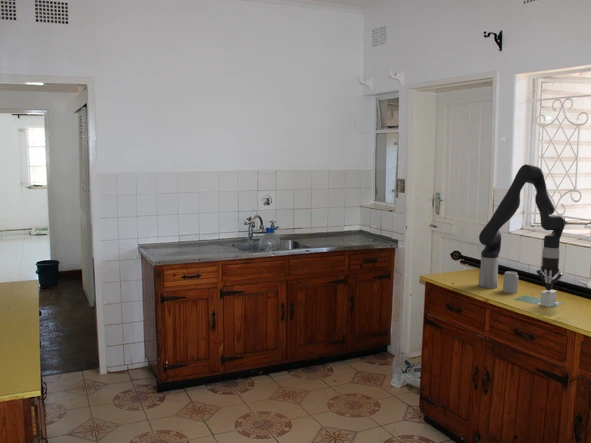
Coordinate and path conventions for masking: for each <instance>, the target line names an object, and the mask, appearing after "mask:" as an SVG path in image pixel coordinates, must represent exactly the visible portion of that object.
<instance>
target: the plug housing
mask: <svg viewBox="0 0 591 443" xmlns="http://www.w3.org/2000/svg"><path fill="white" fill-rule="evenodd" d="M557 292H558V291H557V289H556V290H554V289H552V290H550V291H548V290H546V289H545V290H543V291H540V298H541V300H540V304H543V305H548V306H549V305H551V304H554V303H556V302H557V296H558V293H557Z"/></svg>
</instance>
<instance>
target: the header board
mask: <svg viewBox="0 0 591 443" xmlns="http://www.w3.org/2000/svg"><path fill="white" fill-rule="evenodd" d="M513 300H514V301H519V302H524V303H528V304H533V305H537V306H542V307H546V308H547V307H548V308H552V309H554V308H556V307H559V306H561V305H562V304H564V303H563V302H561V301H556V303H554V304H551V305H549V306H548V305H543V304H540V300H541V297H535V296H531V295H525V294H524V295H521V296H519V297H517V298H513Z"/></svg>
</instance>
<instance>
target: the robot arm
mask: <svg viewBox="0 0 591 443" xmlns="http://www.w3.org/2000/svg"><path fill="white" fill-rule="evenodd" d="M546 183H547V182H546V181H545V175H544V172H543V170H542V168H541V167H539V166H536V165H532V164H523V165H522V166H520V168H519V169H518V171H517V173H516V174H515V177H514V179H513V180H512V183H511V184H510V187H509V188H508V190H507V192H506V193H505V195H504V197H503V198H502V200H501V201H500V202H499V205H498V206H497V208H496V210H495V211H494V213H493V215H492V216H491V218H490V219H489V221H488V222H487V223H486V225H485V226H483V228H482V230H481V231H480V232H479V236H478V239H479V240H478V241H479V243H480V244H481V245H483V246H484V248H483V249H482V250H481V253H480V268H479V269H478V286H479V287H481V288H484V289H496V288H498V276H499V275H498V274H499V255H500V252H501V246H502V234H501V232H500V229H501V228H502V227H503V226H504V225H505V224H506V223H507V222H509V221H510V220H511V219H512V217H513V216H514V215H515V213H516V212H517V211H518V209H519V207H520V204H521V192H522V189H523V187H524V186H525V184H532V185H533V187H534V189H535V191H536V193H535V198H534V201H535V204H536V208H537V209H538V212H539V218H540V226H541V227H542V229H543V230H545V231H552V232H551V233H550V234H546V235H544V237H543V248H542V256H541V259H542V260H541V266H540V269H537V270H536V273H537V275H538V277H539V278H540V280H541V281H542V282H545V287H544V288H545V290H548V291H550V290H553V285H554V284H555V283H557V282H559V281H560V279H561V278H562V277H564V273H563V272H561V271H560V269H559V264H560V242H561V238H562V234H563V231H564V229H565V225H566V222H565V219H564V217H563V216H561V215H553V214H554V213H555V211H556V210H555V209H556V208H555V206H554V204H553V202H552V200H551V199H552V198H550V195H549V192H548V188H547V184H546ZM555 276H556V277H555Z"/></svg>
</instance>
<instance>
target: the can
mask: <svg viewBox="0 0 591 443" xmlns="http://www.w3.org/2000/svg"><path fill="white" fill-rule="evenodd" d="M502 278H503V279H502V280H503V282H502V292H504V293H508V294H517V293H518V292H519V275H518V272H517V271H510V270H508V271H505V272H504V273H503V277H502Z"/></svg>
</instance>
